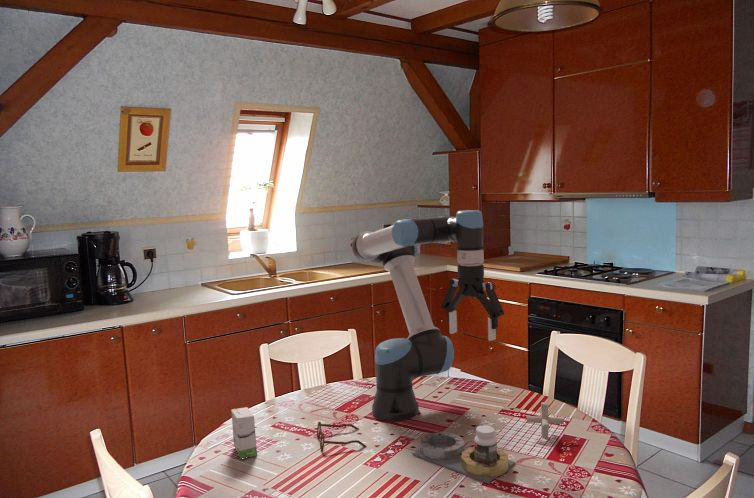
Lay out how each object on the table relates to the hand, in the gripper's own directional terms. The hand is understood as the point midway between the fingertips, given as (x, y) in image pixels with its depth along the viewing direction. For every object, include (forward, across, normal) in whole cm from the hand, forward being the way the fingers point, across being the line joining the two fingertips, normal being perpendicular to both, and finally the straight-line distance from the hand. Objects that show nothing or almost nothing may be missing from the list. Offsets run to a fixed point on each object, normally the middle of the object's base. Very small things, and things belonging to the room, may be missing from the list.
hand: (472, 336), depth 172 cm
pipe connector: (+29, +18, +9) cm, 35 cm away
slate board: (+29, +8, -17) cm, 34 cm away
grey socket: (+29, +1, -17) cm, 33 cm away
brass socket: (+29, +15, -17) cm, 37 cm away
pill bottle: (+28, +15, -17) cm, 36 cm away
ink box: (+29, -42, -52) cm, 73 cm away
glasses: (+29, -26, -30) cm, 49 cm away
